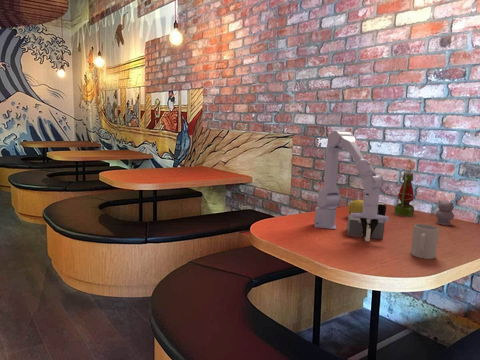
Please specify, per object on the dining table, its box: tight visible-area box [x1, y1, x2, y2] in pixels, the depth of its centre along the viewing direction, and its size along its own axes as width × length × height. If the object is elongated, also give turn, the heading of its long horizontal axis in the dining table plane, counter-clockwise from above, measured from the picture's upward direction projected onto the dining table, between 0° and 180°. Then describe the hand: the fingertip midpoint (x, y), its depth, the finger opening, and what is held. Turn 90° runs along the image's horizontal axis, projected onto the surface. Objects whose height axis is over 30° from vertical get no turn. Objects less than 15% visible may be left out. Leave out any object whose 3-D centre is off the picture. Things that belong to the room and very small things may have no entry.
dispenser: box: [346, 214, 386, 240], centre depth 171 cm, size 14×11×7 cm
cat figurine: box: [435, 199, 455, 226], centre depth 200 cm, size 8×8×12 cm
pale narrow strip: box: [362, 224, 371, 242], centre depth 165 cm, size 2×12×5 cm, turn 169°
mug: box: [410, 223, 440, 260], centre depth 144 cm, size 12×8×11 cm
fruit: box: [347, 199, 364, 215], centre depth 201 cm, size 10×11×10 cm
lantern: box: [393, 159, 415, 217], centre depth 217 cm, size 14×11×30 cm
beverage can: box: [377, 201, 387, 223], centre depth 183 cm, size 7×7×12 cm
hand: (367, 236), depth 162 cm, fingers closed on pale narrow strip
